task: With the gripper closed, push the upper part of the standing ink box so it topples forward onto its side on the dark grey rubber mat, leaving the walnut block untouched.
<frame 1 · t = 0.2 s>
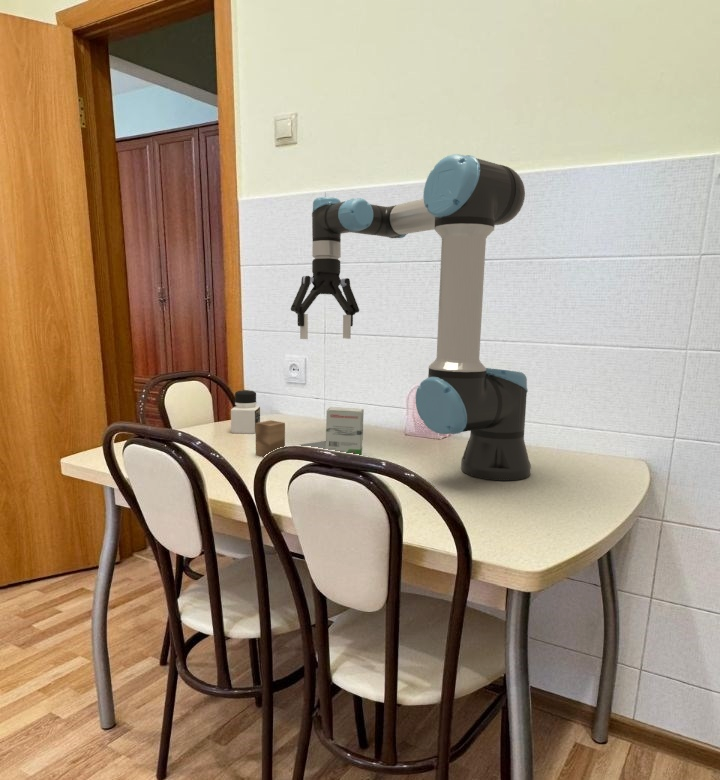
hand: (325, 338, 152), 28 cm above the table, fingers open, 13 cm apart
mat: (318, 449, 143), on the table
medicine bottle: (245, 431, 165), on the table
walnut block: (270, 455, 137), on the table
ink box: (343, 457, 136), on the table, touching mat
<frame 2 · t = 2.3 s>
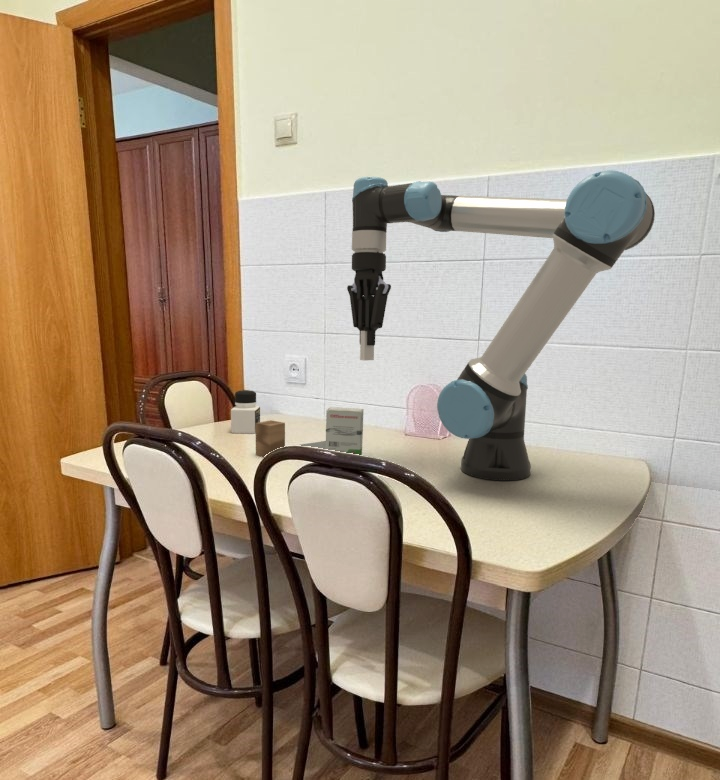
hand: (366, 359, 126), 24 cm above the table, fingers closed
nothing on the table moved.
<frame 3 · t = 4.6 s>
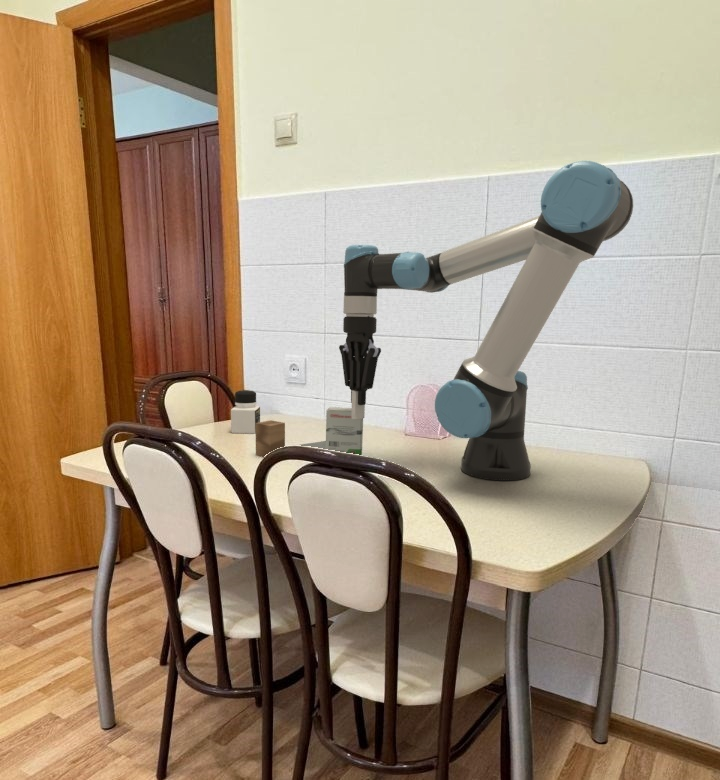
hand: (357, 418, 130), 11 cm above the table, fingers closed
ink box: (343, 457, 136), on the table, touching gripper, mat
everything else where it was.
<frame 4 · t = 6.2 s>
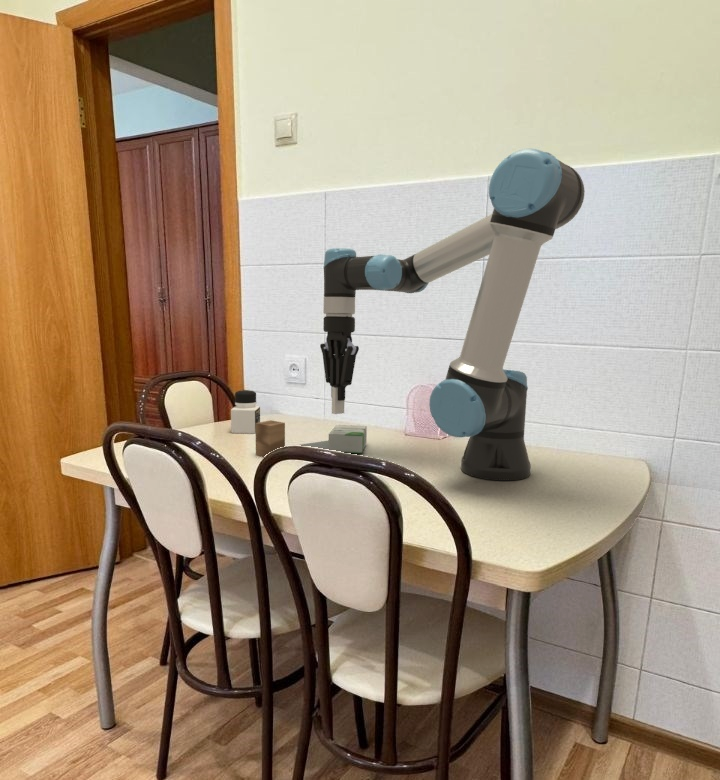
hand: (337, 413, 136), 11 cm above the table, fingers closed
ink box: (345, 443, 138), point 3 cm above the table, touching mat
everything else where it was.
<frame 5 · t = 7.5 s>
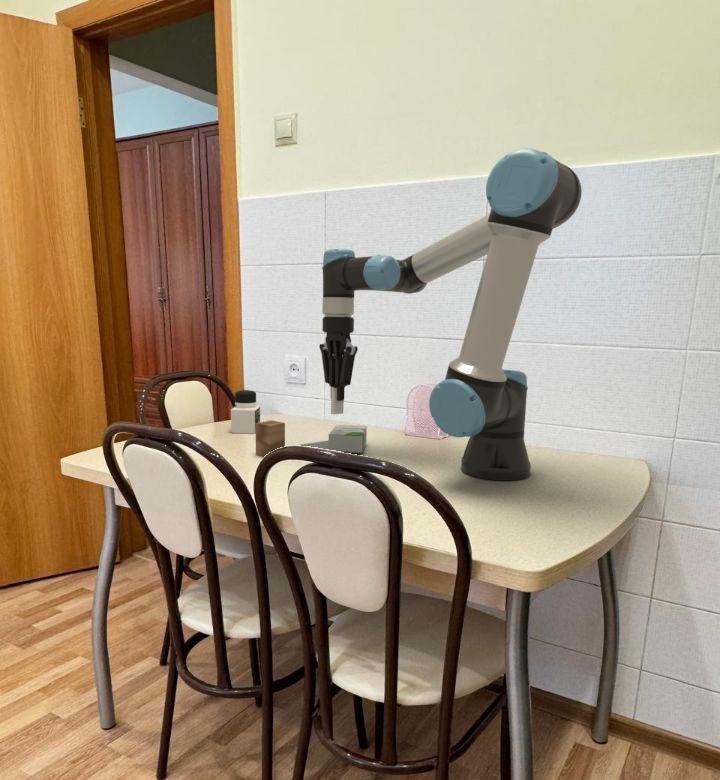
hand: (337, 413, 137), 10 cm above the table, fingers closed
nothing on the table moved.
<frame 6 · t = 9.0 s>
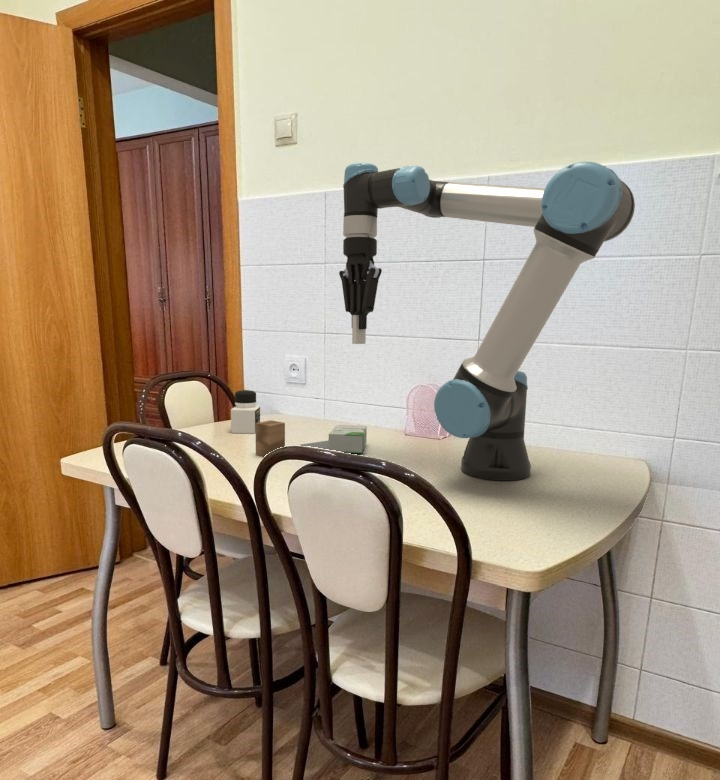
hand: (358, 343, 128), 28 cm above the table, fingers closed
nothing on the table moved.
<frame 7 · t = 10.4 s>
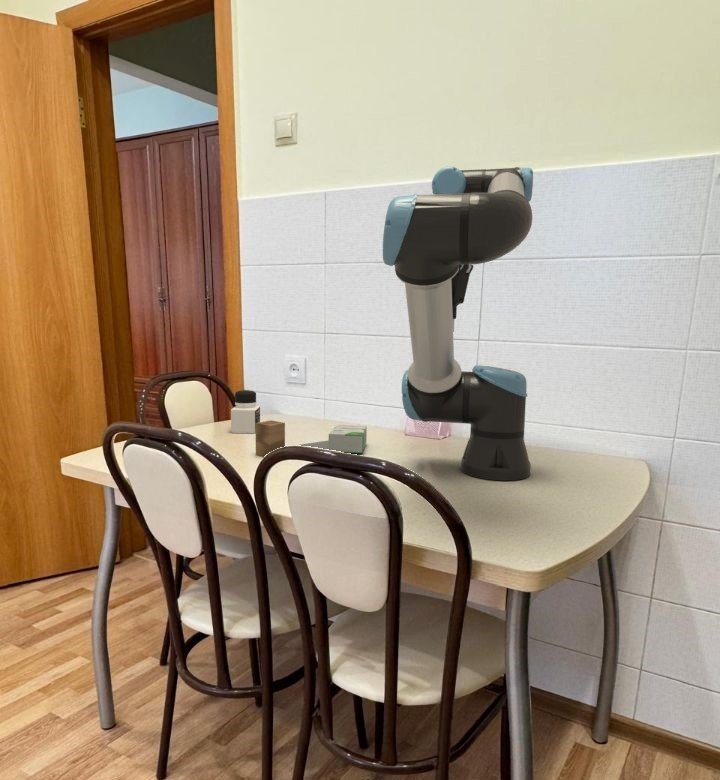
hand: (448, 332, 143), 30 cm above the table, fingers closed
nothing on the table moved.
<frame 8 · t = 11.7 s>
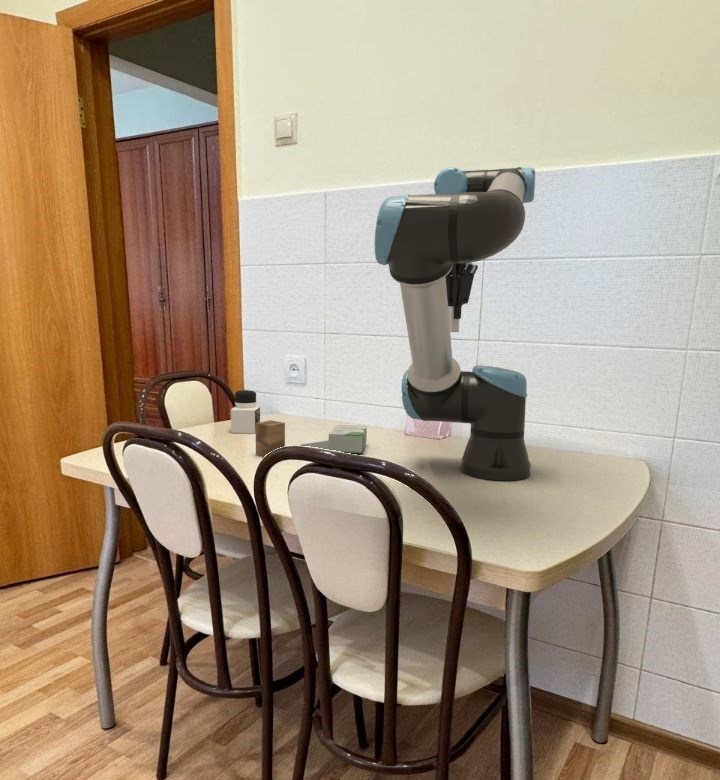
hand: (452, 332, 144), 30 cm above the table, fingers closed
nothing on the table moved.
at the end: ink box tilted 90°; ink box inside the target area (7.7 cm from its centre), point 2.8 cm above the table; walnut block moved 0.1 cm from its start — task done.
